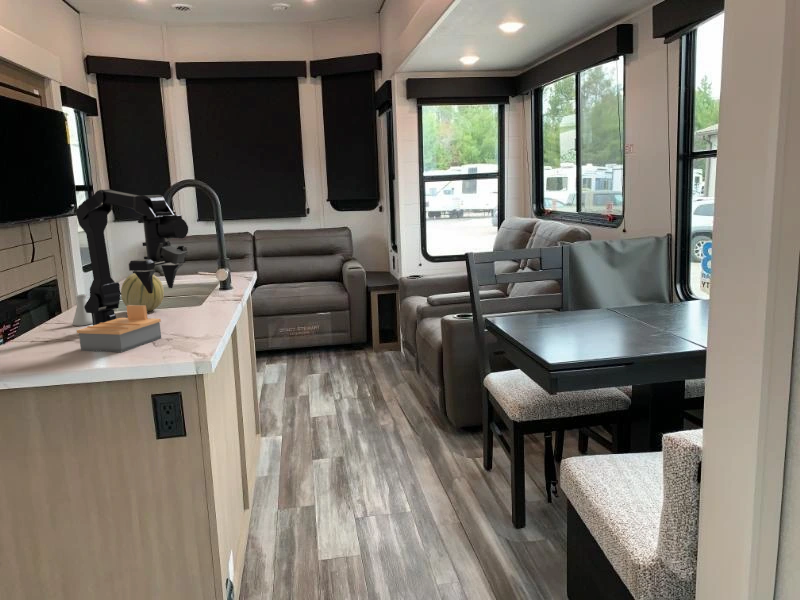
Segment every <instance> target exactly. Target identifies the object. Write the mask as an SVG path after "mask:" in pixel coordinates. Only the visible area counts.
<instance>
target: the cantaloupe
mask: <svg viewBox="0 0 800 600" xmlns="http://www.w3.org/2000/svg"><path fill="white" fill-rule="evenodd" d="M152 277H153V293H148V291H147V290H146V288H145V286H144V285H143V283H142V282H141V280H140V279H139V278H138V277H137V275H136V274H135V273H131V274H130V275H128V276H127V277H125V280H124V281H123V283H122V285H121V286H120V292H121V295H120V299H121V301H122V303H124V305H125V306H128V305H146V309H147V311H149V312H151V311H154V310H155V309H158V307H159V306H161V304H162V302H163V300H164V295H165V291H164V290H165V288H164V285H163V283H162V281H161V279H160V278H159V277H158V276H156V275H155V274H153V276H152Z"/></svg>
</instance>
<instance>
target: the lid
mask: <svg viewBox="0 0 800 600" xmlns="http://www.w3.org/2000/svg"><path fill="white" fill-rule="evenodd" d="M125 306H126V305H125ZM126 314H127V317H119V318H118V317H117V318H116V319H114V320H111V321H107V322H104V323H99V324H97V325H93V324H92V325H86V327H83V328H80V329H77V330H76V334H79V333H87V334H117V335H120V334H123V333H126V332H130V331H133V330H136V329H139V328H142V327H145V326H148V325H151V324H154V323H157V322H162V319H161V318H152V317H151V318H149V317H148V312H147V309H146V305H128V306H126Z"/></svg>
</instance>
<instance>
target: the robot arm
mask: <svg viewBox="0 0 800 600" xmlns="http://www.w3.org/2000/svg"><path fill="white" fill-rule="evenodd" d="M113 205H114V206H118V207H123V208H128V209H132V210H134V212H136V213H138V214H139V215H141V217H140V218H139V219H138V220H137V223H138V224H143V231H144V239H145V241H144V242H141V243H142V246H143V247H145V248H146V249H145V250H146V256H143V259H141V258H139V259H134V260H133V259H132V260H130V261H129V262H128V269H129V271H132V274H134V273H135V274H136V275H137V277H138V278H139V279H140V280H141V282H142V283H143V285H144V286H145V288H146V290H147V291H148V293H153V277H152V276H153V275H155V273H156V269H155V267H156V266H161V269H162V271H163V275H164V278H165V281H166V284H167V286H168V289H173V288H174V283H175V278H176V275H177V271H178V270H179V269H180V268H181V267H183V265H184V264H186V258H188V249H187V246H186V245H178V246H176V247H175V246H174V247H173V246H171V242H170V240H167V239H184V238H186V237H187V235H188V234H189V226H188V224H187V222H186V221H185V219H183V217H182V214H175V213H174V212H173V210H172V209H171V207H170V206H169V204H168V203H167V202H166V200H165V198H164V196H163V195H161V194H151V195H150V194H149V195H148V194H147V195H139V194H138V195H137V194H133V193H128V192H122V191H118V190H117V191H116V190H114V189H113V190H112V189H99V190H96V192H95V193H93V195H91V196H90V197H88V198H87V199H85V200H84V201H83V202H82V203H81V204H79V205H78V207H77V208H76V210H75V215H76V219H77V222H78V225H79V227H80V228H81V229H82V230H83V231H84V233H85V234H86V240H87V245H88V252H89V261H90V266H91V271H92V272H91V273H92V279H93V280H92V282H91V285H90V287H89V297H88V300H86V301H87V303H86V304H85V306H84V308H85V310H86V313H91V314H92V321H93V324H92V326H93V325H97V324H99V323H104V322H107V321H111V320H114V319H117V316H116V313H115V310H117V309H119V307H120V300H121V285H120V282H119V281H117V282H116V281H115V280H114V279H113V278H112V276H111V270H110V269H111V268H110V264H109V256H108V250H107V243H106V236H105V231H106V227H107V225H108V215H109V214H110V212H111V211H112V210H113V207H114V206H113Z"/></svg>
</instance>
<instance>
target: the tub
mask: <svg viewBox="0 0 800 600" xmlns="http://www.w3.org/2000/svg"><path fill="white" fill-rule="evenodd" d="M161 331H162V330H161V323H160V322H157V323H154V324H151V325H148V326H145V327H142V328H139V329H136V330H133V331H130V332H126V333H123V334H120V335H117V334H87V333H78V339H79V345H80V346H79V347H80V351H83V352H84V351H85V352H102V353H103V352H104V353H106V352H107V353H108V352H109V353H125V352H127V351H129V350H133V349H136V348H138V347H140V346H144V345H147V344H149V343H152V342H154V341H155V342H156V341H157V340H160V339H162V332H161Z"/></svg>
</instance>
